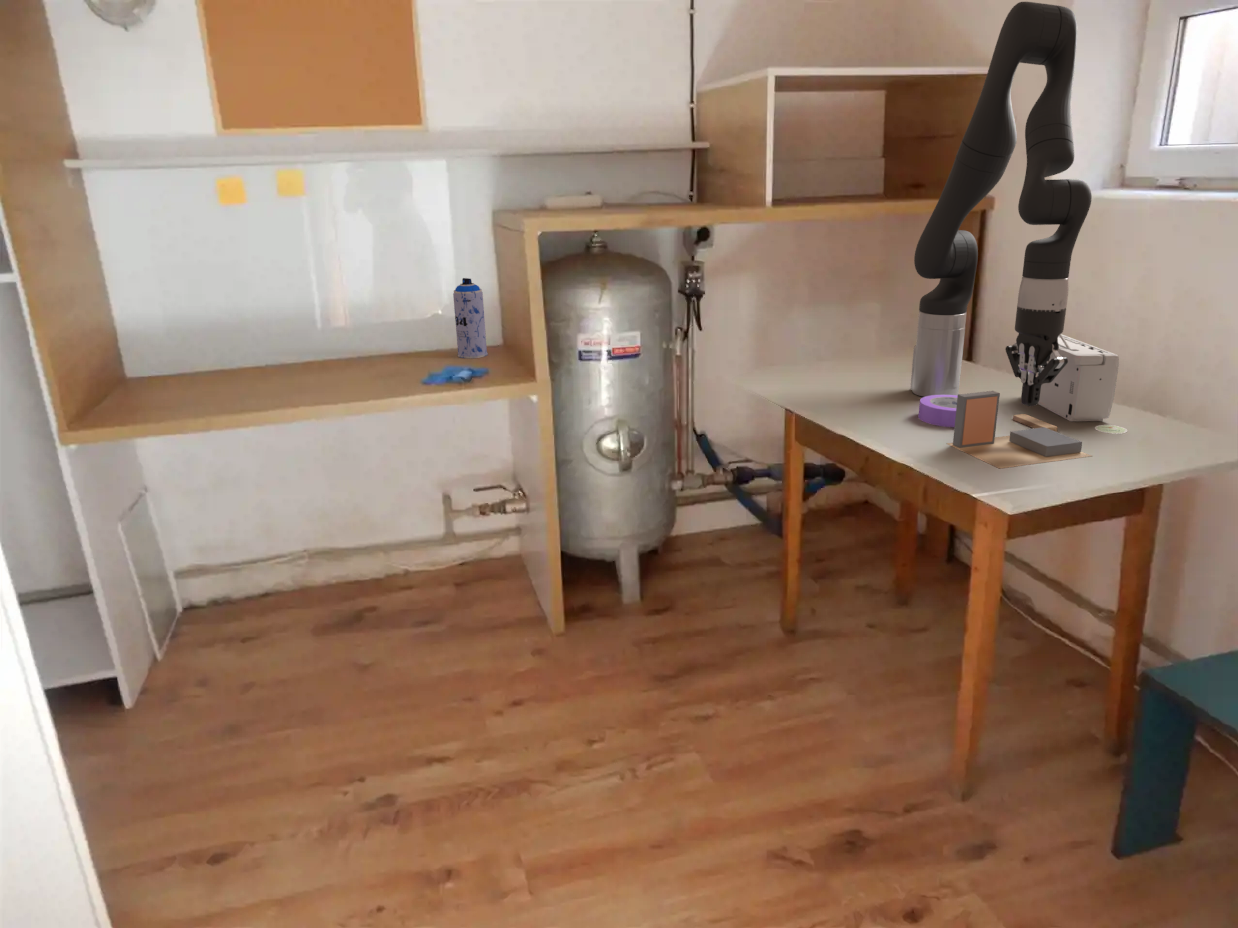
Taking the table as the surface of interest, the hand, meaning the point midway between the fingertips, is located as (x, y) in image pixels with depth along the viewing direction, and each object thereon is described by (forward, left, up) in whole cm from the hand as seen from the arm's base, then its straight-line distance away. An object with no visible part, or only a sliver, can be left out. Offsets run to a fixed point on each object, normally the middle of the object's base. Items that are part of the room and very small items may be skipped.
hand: (1029, 404), depth 158 cm
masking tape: (-16, -4, -7) cm, 18 cm away
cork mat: (+4, -5, -7) cm, 9 cm away
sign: (+4, +15, -7) cm, 17 cm away
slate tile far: (0, 0, -5) cm, 5 cm away
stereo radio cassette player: (-15, +20, -7) cm, 26 cm away
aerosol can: (-111, -82, -7) cm, 138 cm away
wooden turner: (-4, +7, -7) cm, 11 cm away
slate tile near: (-1, -10, -6) cm, 12 cm away
